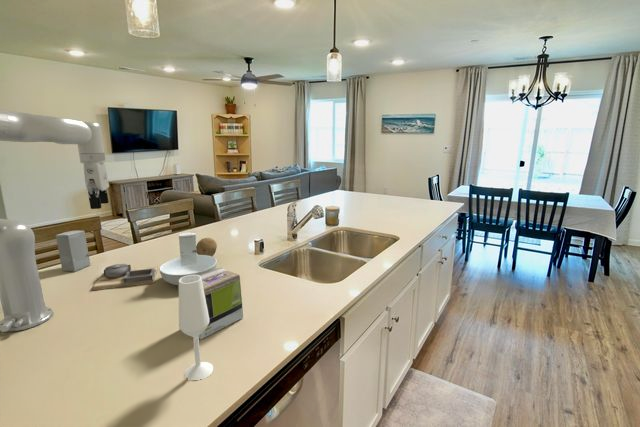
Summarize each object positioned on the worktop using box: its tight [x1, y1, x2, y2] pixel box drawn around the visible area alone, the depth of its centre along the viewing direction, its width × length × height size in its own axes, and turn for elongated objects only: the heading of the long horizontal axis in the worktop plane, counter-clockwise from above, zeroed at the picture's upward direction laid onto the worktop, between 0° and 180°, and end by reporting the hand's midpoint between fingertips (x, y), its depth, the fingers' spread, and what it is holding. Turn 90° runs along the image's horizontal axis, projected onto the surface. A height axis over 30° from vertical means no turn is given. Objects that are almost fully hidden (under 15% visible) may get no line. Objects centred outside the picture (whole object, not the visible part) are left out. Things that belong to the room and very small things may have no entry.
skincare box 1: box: [55, 230, 91, 273], centre depth 142 cm, size 8×7×16 cm
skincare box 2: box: [178, 231, 198, 266], centre depth 129 cm, size 6×4×12 cm
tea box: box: [177, 267, 244, 340], centre depth 100 cm, size 15×10×15 cm
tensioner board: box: [92, 263, 159, 291], centre depth 132 cm, size 14×20×5 cm
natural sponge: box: [196, 237, 218, 257], centre depth 153 cm, size 9×9×10 cm
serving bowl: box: [158, 254, 218, 286], centre depth 131 cm, size 21×21×7 cm
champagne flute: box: [178, 275, 214, 381], centre depth 78 cm, size 7×7×24 cm
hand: (100, 205), depth 122 cm, fingers open, 9 cm apart
